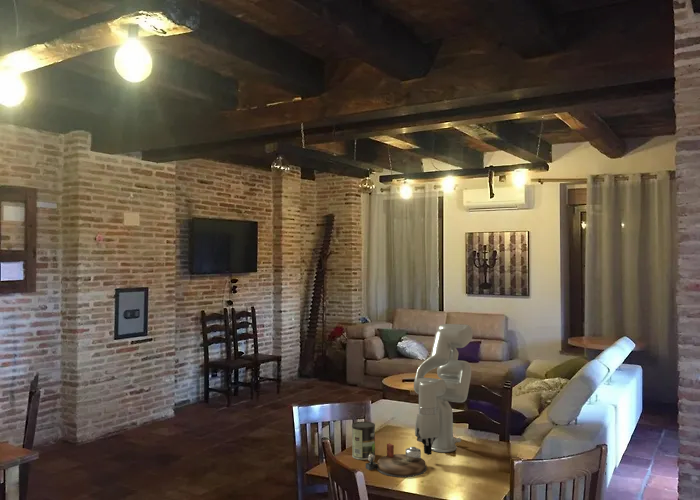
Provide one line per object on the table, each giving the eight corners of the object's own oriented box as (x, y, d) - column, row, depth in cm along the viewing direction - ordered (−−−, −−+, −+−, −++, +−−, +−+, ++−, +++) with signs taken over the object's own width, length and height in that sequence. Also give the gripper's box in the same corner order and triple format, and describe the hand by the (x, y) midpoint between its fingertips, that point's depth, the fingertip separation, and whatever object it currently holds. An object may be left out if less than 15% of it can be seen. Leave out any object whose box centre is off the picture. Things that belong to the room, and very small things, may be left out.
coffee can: (376, 453, 263) (376, 421, 264) (373, 460, 253) (373, 428, 253) (354, 451, 265) (354, 420, 266) (350, 459, 255) (349, 426, 256)
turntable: (407, 456, 257) (407, 440, 258) (435, 469, 240) (435, 452, 240) (368, 463, 248) (368, 447, 248) (394, 478, 230) (394, 461, 230)
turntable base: (407, 456, 258) (407, 455, 258) (436, 471, 240) (436, 470, 240) (367, 464, 248) (367, 463, 248) (394, 480, 230) (394, 479, 230)
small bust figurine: (373, 466, 246) (373, 452, 246) (377, 468, 243) (377, 454, 244) (365, 468, 244) (365, 454, 244) (369, 470, 241) (369, 456, 242)
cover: (414, 456, 251) (414, 444, 251) (423, 460, 246) (423, 448, 246) (402, 458, 248) (402, 446, 248) (411, 463, 242) (411, 451, 243)
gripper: (436, 406, 258) (436, 448, 257) (408, 411, 251) (408, 454, 250) (446, 410, 251) (447, 453, 251) (418, 414, 244) (418, 459, 243)
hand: (427, 453), depth 250 cm, fingers closed
